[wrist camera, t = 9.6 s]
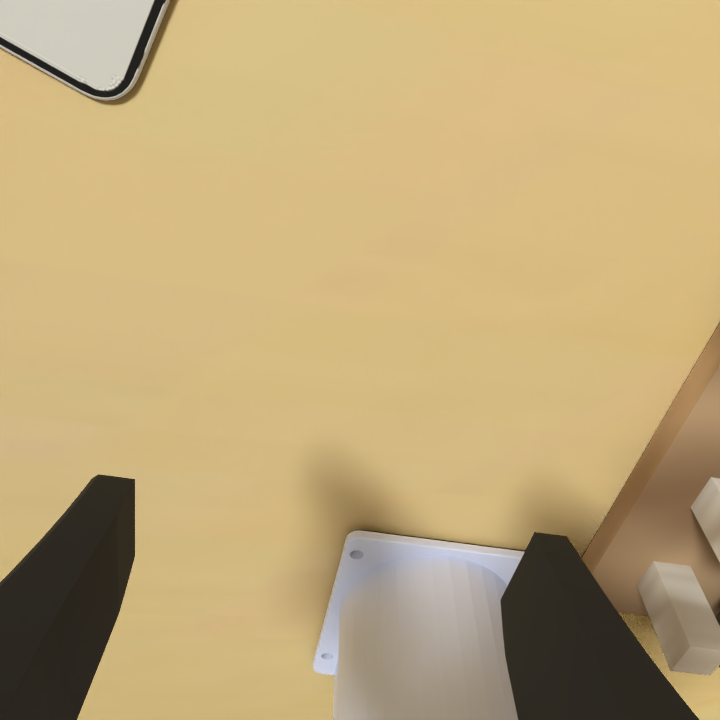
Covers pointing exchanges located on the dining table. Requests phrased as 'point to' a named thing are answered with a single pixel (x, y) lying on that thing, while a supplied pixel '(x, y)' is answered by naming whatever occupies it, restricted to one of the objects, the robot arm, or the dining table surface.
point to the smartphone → (83, 40)
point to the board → (672, 527)
